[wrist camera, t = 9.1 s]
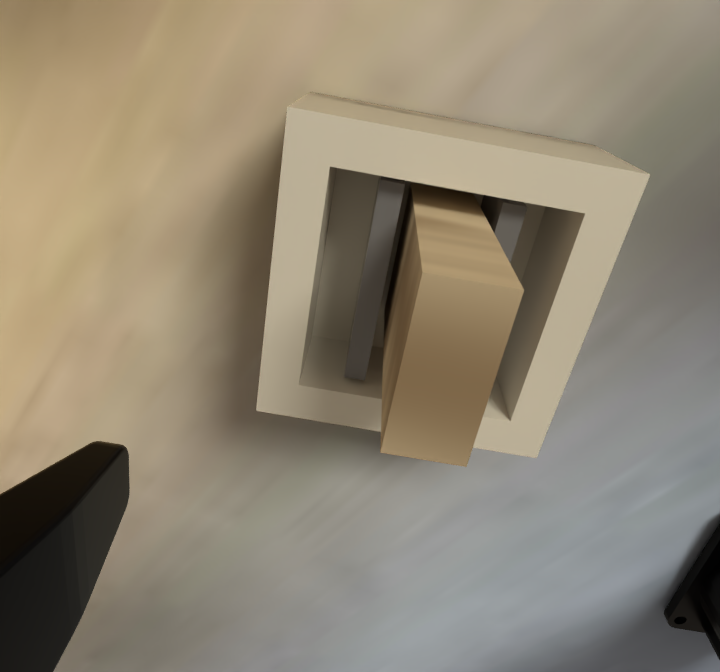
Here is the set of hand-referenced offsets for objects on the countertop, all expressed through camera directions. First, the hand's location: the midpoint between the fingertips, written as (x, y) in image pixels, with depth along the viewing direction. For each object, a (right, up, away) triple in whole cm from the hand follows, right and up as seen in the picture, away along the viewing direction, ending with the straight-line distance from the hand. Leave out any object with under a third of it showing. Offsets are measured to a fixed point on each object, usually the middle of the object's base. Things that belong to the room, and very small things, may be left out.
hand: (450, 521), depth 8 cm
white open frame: (+1, +5, +10) cm, 11 cm away
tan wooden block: (+1, +5, +9) cm, 10 cm away
